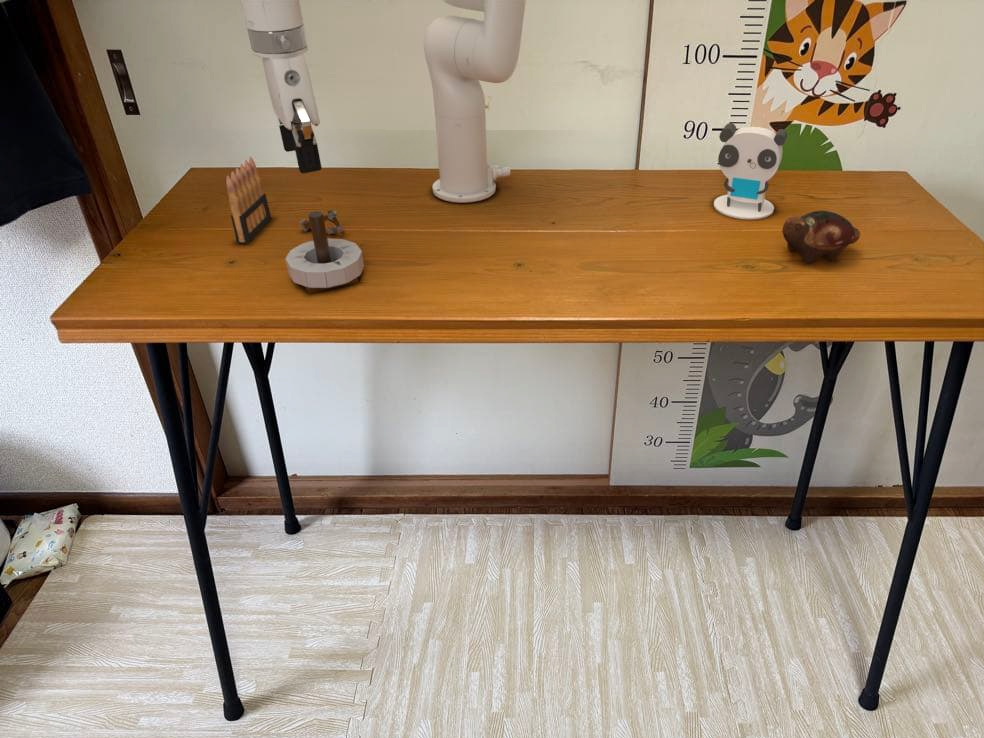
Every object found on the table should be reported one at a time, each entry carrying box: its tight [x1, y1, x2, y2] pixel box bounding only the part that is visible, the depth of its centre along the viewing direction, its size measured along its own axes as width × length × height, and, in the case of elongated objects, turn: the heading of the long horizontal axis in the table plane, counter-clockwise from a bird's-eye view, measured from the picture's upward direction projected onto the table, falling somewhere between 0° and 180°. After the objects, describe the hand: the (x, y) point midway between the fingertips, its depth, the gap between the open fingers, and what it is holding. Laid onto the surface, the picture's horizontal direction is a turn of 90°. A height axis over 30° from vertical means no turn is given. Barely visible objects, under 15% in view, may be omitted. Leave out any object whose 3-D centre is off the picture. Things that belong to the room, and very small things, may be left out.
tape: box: [285, 238, 365, 288], centre depth 124 cm, size 12×12×3 cm
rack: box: [304, 210, 359, 295], centre depth 122 cm, size 8×8×11 cm
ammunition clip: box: [226, 156, 272, 245], centre depth 135 cm, size 11×2×12 cm, turn 172°
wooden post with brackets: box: [299, 209, 345, 235], centre depth 137 cm, size 2×8×4 cm, turn 71°
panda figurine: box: [713, 122, 788, 220], centre depth 144 cm, size 12×11×15 cm
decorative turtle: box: [781, 210, 861, 265], centre depth 130 cm, size 10×15×8 cm, turn 113°
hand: (302, 160), depth 117 cm, fingers open, 9 cm apart
